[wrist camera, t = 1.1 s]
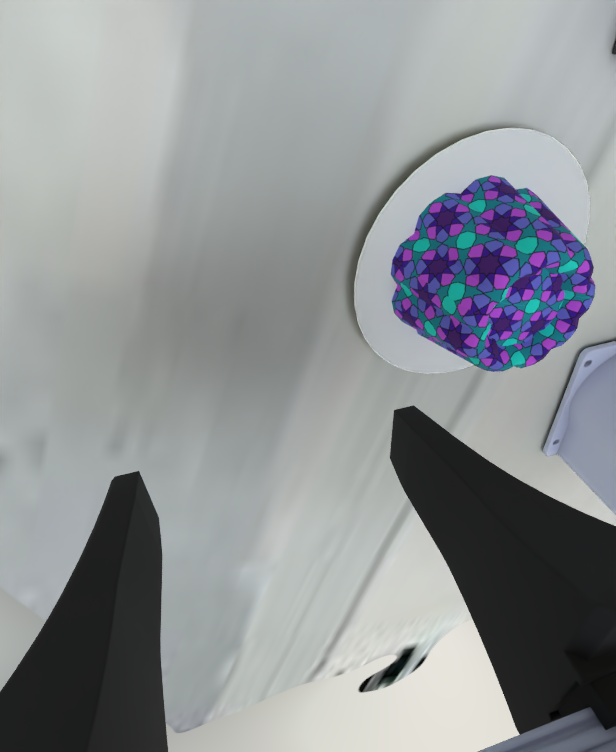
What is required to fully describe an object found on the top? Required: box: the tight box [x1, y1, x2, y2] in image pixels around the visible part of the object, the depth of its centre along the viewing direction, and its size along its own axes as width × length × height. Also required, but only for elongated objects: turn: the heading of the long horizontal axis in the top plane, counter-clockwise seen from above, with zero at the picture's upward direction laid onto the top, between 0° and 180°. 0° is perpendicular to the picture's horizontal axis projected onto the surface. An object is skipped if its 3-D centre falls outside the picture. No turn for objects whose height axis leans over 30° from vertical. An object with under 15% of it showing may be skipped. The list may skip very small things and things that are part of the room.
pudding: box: [354, 128, 595, 374], centre depth 20 cm, size 12×12×5 cm
